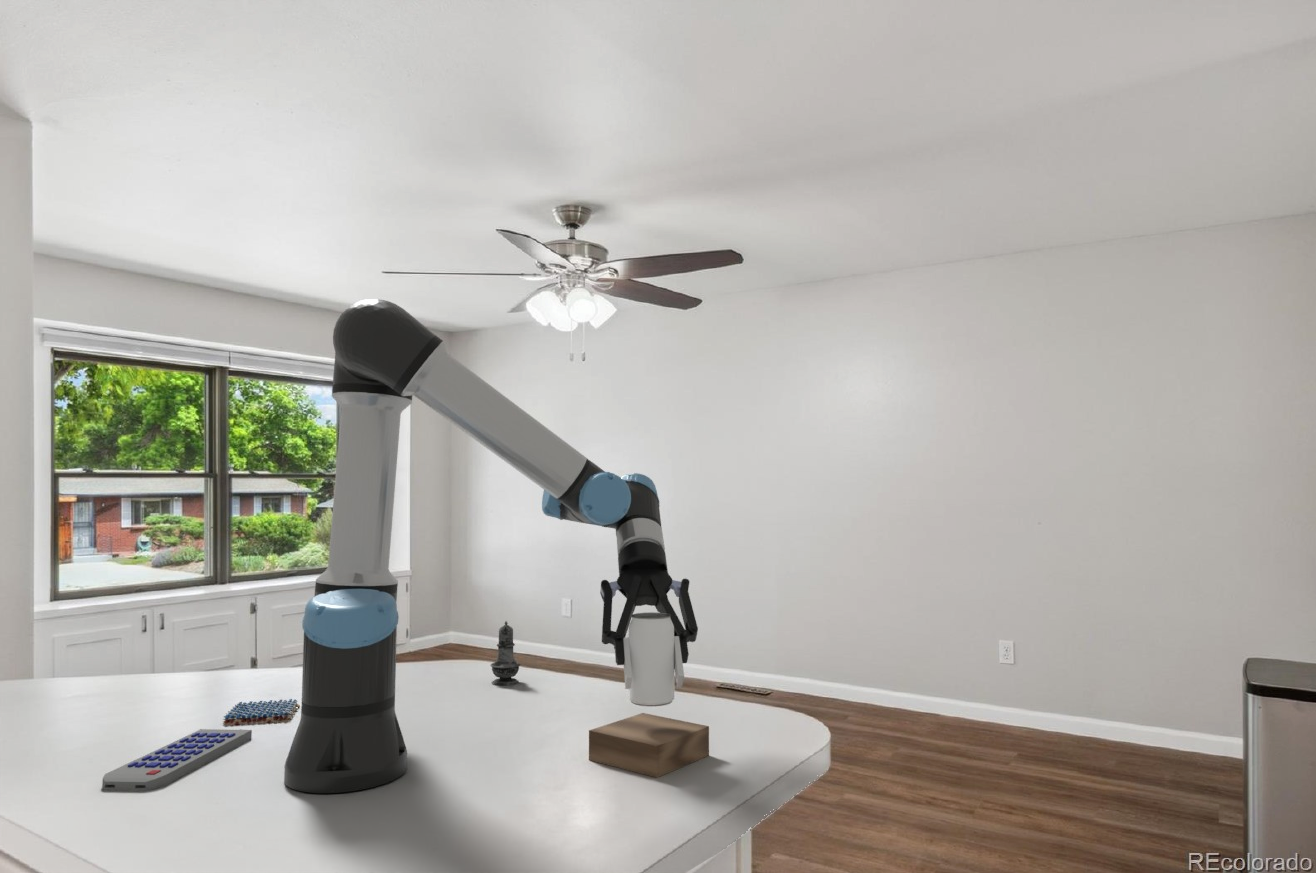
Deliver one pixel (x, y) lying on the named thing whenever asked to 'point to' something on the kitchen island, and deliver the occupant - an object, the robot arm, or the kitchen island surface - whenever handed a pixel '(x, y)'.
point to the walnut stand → (649, 744)
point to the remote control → (174, 760)
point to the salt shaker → (505, 659)
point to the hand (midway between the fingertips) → (654, 682)
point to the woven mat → (261, 712)
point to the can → (652, 659)
